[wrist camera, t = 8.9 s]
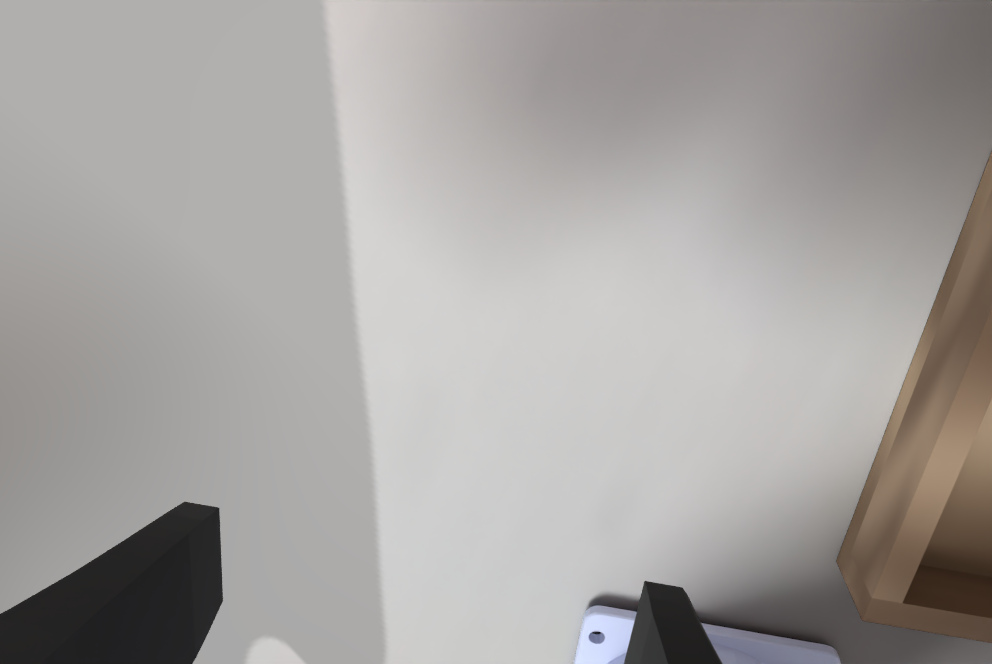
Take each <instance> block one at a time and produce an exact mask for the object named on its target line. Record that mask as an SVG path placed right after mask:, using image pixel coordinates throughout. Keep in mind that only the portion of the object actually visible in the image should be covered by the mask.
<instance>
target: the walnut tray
mask: <svg viewBox="0 0 992 664" xmlns="http://www.w3.org/2000/svg"><path fill="white" fill-rule="evenodd" d="M836 562H837V564H838V567H839V569H840V571H841V573H842V576H843V578H844V580H845V583H846V585H847V587H848V589H849V592H850V594H851V596H852V599H853V601H854V603H855V605H856V608H857V610H858V612H859V614H860V617H861V619H862V621H867V622H873V623H878V624H884V625H890V626H896V627H902V628H907V629H913V630H919V631H925V632H931V633H936V634H942V635H948V636H954V637H960V638H965V639H971V640H977V641H983V642H989V643H992V152H991V155H990V157H989V160H988V163H987V165H986V168H985V171H984V173H983V176H982V178H981V181H980V184H979V186H978V189H977V192H976V194H975V197H974V200H973V202H972V205H971V207H970V210H969V213H968V215H967V218H966V221H965V223H964V226H963V228H962V231H961V234H960V236H959V239H958V242H957V244H956V247H955V250H954V252H953V255H952V257H951V260H950V263H949V265H948V268H947V271H946V273H945V276H944V278H943V281H942V284H941V286H940V289H939V292H938V294H937V297H936V300H935V302H934V305H933V307H932V310H931V313H930V315H929V318H928V321H927V323H926V326H925V328H924V331H923V334H922V336H921V339H920V342H919V344H918V347H917V349H916V352H915V355H914V357H913V360H912V363H911V365H910V368H909V371H908V373H907V376H906V378H905V381H904V384H903V386H902V389H901V392H900V394H899V397H898V399H897V402H896V405H895V407H894V410H893V413H892V415H891V418H890V421H889V423H888V426H887V428H886V431H885V434H884V436H883V439H882V442H881V444H880V447H879V449H878V452H877V455H876V457H875V460H874V463H873V465H872V468H871V471H870V473H869V476H868V478H867V481H866V484H865V486H864V489H863V492H862V494H861V497H860V499H859V502H858V505H857V507H856V510H855V513H854V515H853V518H852V521H851V523H850V526H849V528H848V531H847V534H846V536H845V539H844V542H843V544H842V547H841V549H840V552H839V555H838V557H837V560H836Z"/></svg>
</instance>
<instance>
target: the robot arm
mask: <svg viewBox="0 0 992 664" xmlns="http://www.w3.org/2000/svg"><path fill="white" fill-rule="evenodd" d="M220 543H221V542H220V518H219V508H217V507H212V506H206V505H200V504H194V503H188V502H184V503H182V504H180V505H179V506H177V507H175V508H174V509H172V510H170V511H169V512H167V513H166V514H164V515H163V516H161V517H159V518H158V519H156V520H155V521H153V522H152V523H150V524H149V525H147V526H146V527H144V528H143V529H141V530H139V531H138V532H136V533H135V534H133V535H132V536H130V537H129V538H127V539H126V540H124V541H122V542H121V543H119V544H118V545H116V546H115V547H113V548H112V549H110V550H108V551H107V552H105V553H103V554H102V555H100V556H99V557H97V558H96V559H94V560H92V561H91V562H89V563H88V564H86V565H84V566H83V567H81V568H80V569H78V570H76V571H75V572H73V573H71V574H70V575H68V576H66V577H65V578H63V579H61V580H59V581H58V582H56V583H54V584H52V585H51V586H49V587H47V588H46V589H44V590H42V591H40V592H39V593H37V594H35V595H33V596H32V597H30V598H28V599H27V600H25V601H23V602H21V603H19V604H18V605H16V606H14V607H12V608H11V609H9V610H7V611H5V612H3V613H1V614H0V664H192V663H193V661H194V660H195V658H196V656H197V654H198V652H199V650H200V648H201V646H202V644H203V642H204V640H205V638H206V636H207V634H208V632H209V630H210V628H211V625H212V623H213V621H214V619H215V616H216V614H217V612H218V610H219V608H220V606H221V604H222V601H223V596H222V595H223V593H222V568H221V544H220ZM593 631H599V632H601V634H593V633H591V632H593ZM573 664H841V661H840V659H839V656H838V654H837V651H836V650H835V649H834V648H833V647H831V646H828V645H824V644H818V643H812V642H807V641H801V640H795V639H790V638H784V637H778V636H772V635H767V634H761V633H755V632H750V631H744V630H738V629H732V628H727V627H721V626H715V625H710V624H704V623H701V622H700V620H699V618H698V616H697V614H696V612H695V610H694V608H693V606H692V604H691V601H690V599H689V597H688V595H687V594H686V592H685V591H684V589H683V588H682V587H676V586H670V585H664V584H658V583H653V582H647V581H645V582H644V586H643V590H642V594H641V598H640V601H639V605H638V609H637V612H635V611H630V610H624V609H618V608H612V607H607V606H593V607H590V608H589V609H587V610H586V612H585V614H584V616H583V621H582V626H581V630H580V635H579V640H578V644H577V649H576V653H575V658H574V663H573Z"/></svg>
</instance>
